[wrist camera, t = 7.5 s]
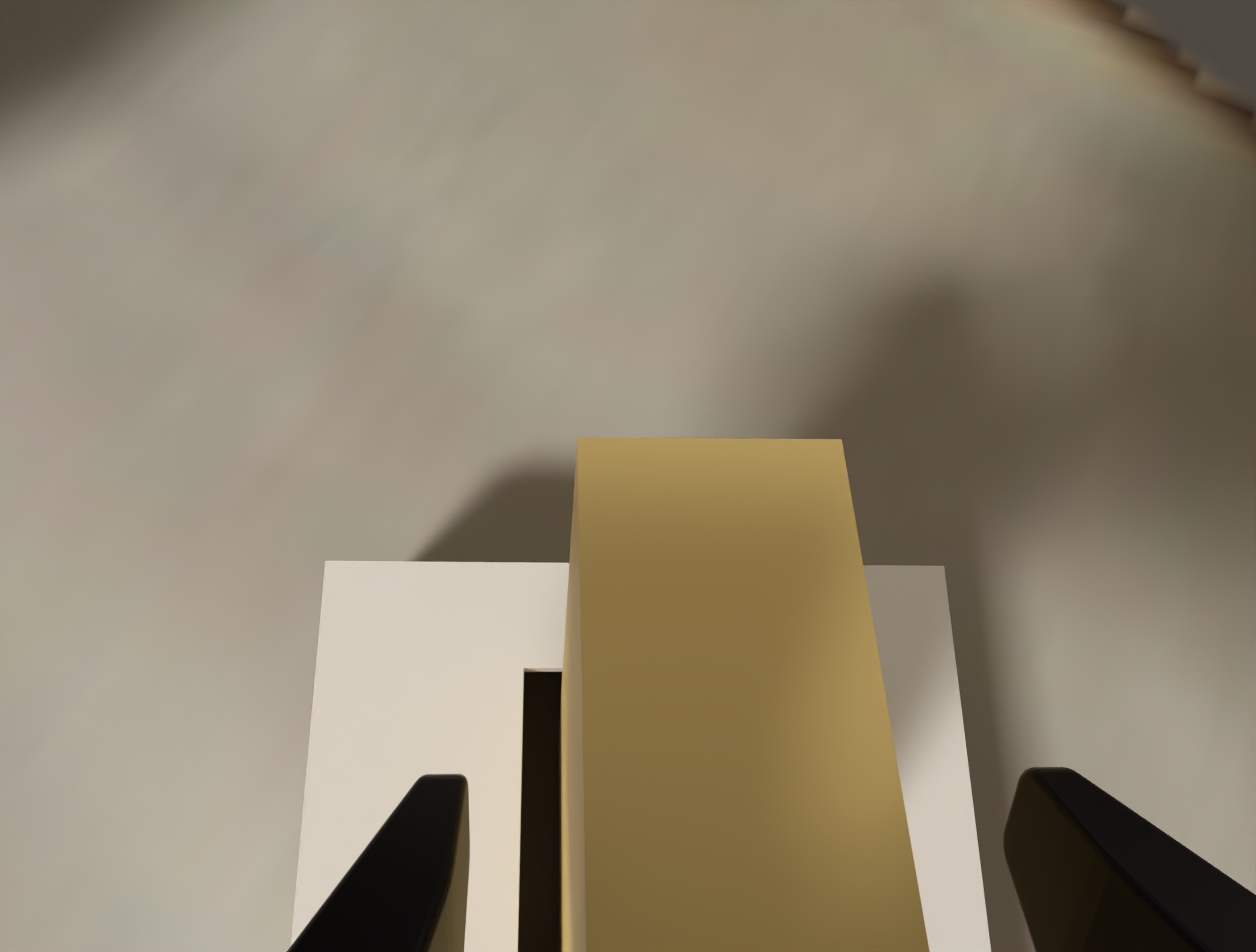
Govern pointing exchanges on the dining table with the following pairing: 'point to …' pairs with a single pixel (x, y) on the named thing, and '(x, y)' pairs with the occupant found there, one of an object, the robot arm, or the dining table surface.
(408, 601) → the white slotted base
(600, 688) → the block
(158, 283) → the dining table surface
